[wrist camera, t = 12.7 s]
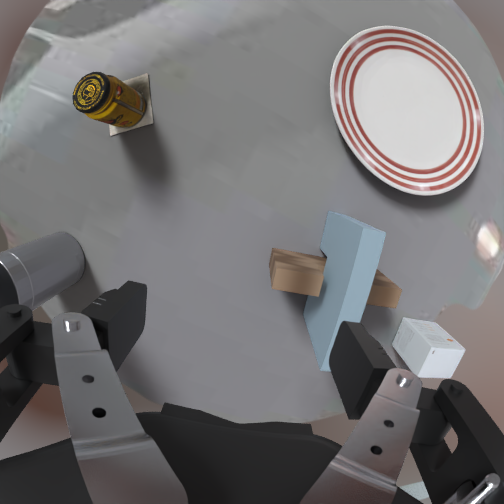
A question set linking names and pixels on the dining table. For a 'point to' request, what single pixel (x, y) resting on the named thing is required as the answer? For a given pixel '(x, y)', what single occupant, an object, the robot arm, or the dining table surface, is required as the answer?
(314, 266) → the walnut block
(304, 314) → the light blue square panel
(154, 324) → the dining table surface
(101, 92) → the condiment
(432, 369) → the small box
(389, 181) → the dinner plate
